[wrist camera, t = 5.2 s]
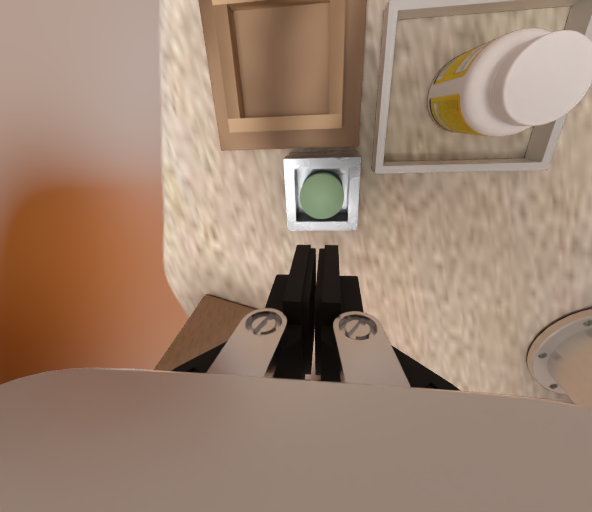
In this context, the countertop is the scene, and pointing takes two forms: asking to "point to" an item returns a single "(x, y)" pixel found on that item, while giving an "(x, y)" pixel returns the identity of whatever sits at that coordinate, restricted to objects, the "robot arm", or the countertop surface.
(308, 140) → the brown wooden square tray
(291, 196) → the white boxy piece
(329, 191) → the button
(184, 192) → the countertop surface
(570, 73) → the supplement bottle
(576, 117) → the countertop surface
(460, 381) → the countertop surface
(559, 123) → the frame
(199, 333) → the wooden block
